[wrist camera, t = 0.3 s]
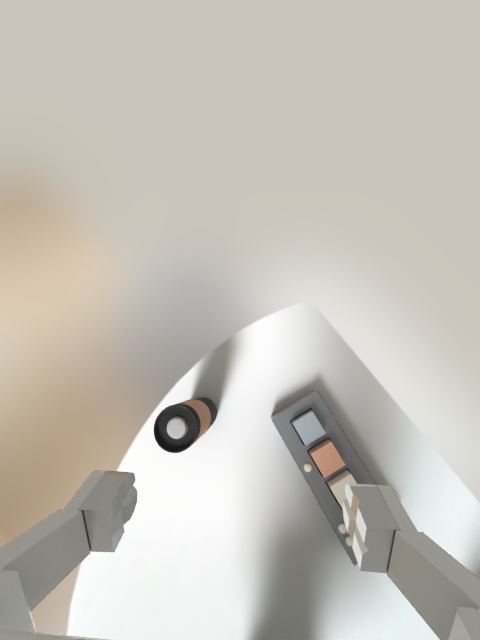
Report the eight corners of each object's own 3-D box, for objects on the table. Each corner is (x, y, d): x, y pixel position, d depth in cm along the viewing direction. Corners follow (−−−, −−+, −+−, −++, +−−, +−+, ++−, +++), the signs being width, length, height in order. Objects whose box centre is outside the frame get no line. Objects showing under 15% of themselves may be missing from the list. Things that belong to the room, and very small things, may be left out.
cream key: (358, 490, 53) (366, 498, 49) (338, 502, 53) (344, 512, 49) (344, 467, 54) (351, 473, 50) (324, 479, 54) (329, 487, 50)
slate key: (321, 429, 56) (326, 433, 52) (302, 441, 56) (305, 445, 52) (309, 408, 57) (312, 411, 53) (290, 420, 57) (292, 423, 53)
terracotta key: (339, 458, 54) (345, 465, 51) (320, 471, 54) (324, 478, 50) (326, 437, 56) (331, 441, 52) (307, 448, 55) (310, 454, 52)
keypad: (395, 520, 53) (407, 533, 49) (347, 551, 52) (354, 566, 48) (313, 390, 60) (317, 391, 56) (270, 416, 60) (271, 419, 55)
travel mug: (200, 436, 60) (171, 464, 40) (180, 411, 62) (143, 426, 42) (224, 414, 61) (207, 430, 41) (204, 389, 62) (178, 394, 43)
